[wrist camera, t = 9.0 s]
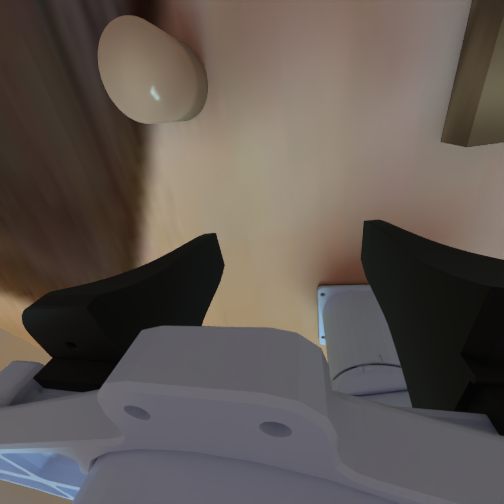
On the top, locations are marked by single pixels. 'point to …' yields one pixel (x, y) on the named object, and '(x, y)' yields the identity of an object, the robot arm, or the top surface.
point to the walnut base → (479, 80)
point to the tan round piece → (150, 72)
